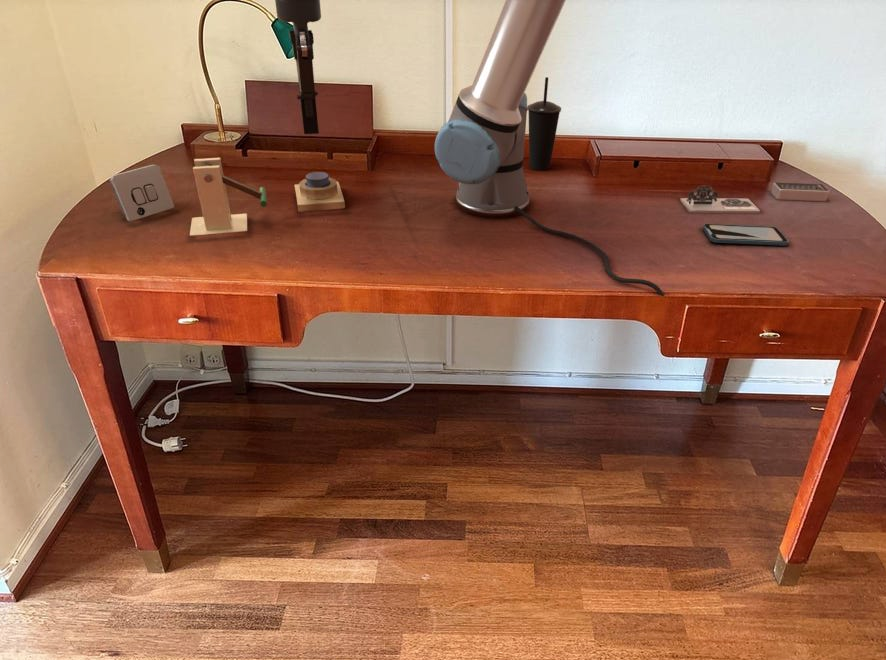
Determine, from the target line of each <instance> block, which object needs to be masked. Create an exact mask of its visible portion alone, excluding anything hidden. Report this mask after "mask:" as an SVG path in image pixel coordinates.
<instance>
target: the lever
mask: <svg viewBox="0 0 886 660" xmlns="http://www.w3.org/2000/svg"><path fill="white" fill-rule="evenodd" d="M202 166H212V165H210V164H208V163H206V162H203V164H202ZM223 175H224V174H223ZM223 175H222V180H223V183H224V184H225V185H226V186H229V187H231V188H234V189H236V190H237V191H238V190H239V191H240V192H242V193H245V194H247V195H250V196H252V197H254V198H256V199H259V204H260V206H261V207H263V208H266V207H267V205H268V199H267V198H268V197H267V189H266V187H264V186H260V187H259V189H258V190H257V189H255V188H253V187H251V186H248V185H246V184H244V183H242V182H240V181H237V180H235V179H232V178H230V177H228V176H226V175H224V176H223Z"/></svg>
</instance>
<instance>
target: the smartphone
mask: <svg viewBox="0 0 886 660" xmlns="http://www.w3.org/2000/svg"><path fill="white" fill-rule="evenodd" d="M702 230H703V231H704V233H705V234H706V236H707V237H708V239H709V240H710V241H711V242H712V243H720V244H739V245H740V244H742V245H761V246H763V245H765V246H766V245H767V246H783V247H784V246H788V245H789V242H790V241H789V238H787V237H786V236H785V235H784V233H783V232H782V231H781V230H780V229H779V227H776V226H774V225H773V226H771V225H752V224H751V225H750V224H749V225H748V224H728V223H727V224H725V223H703V224H702Z"/></svg>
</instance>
